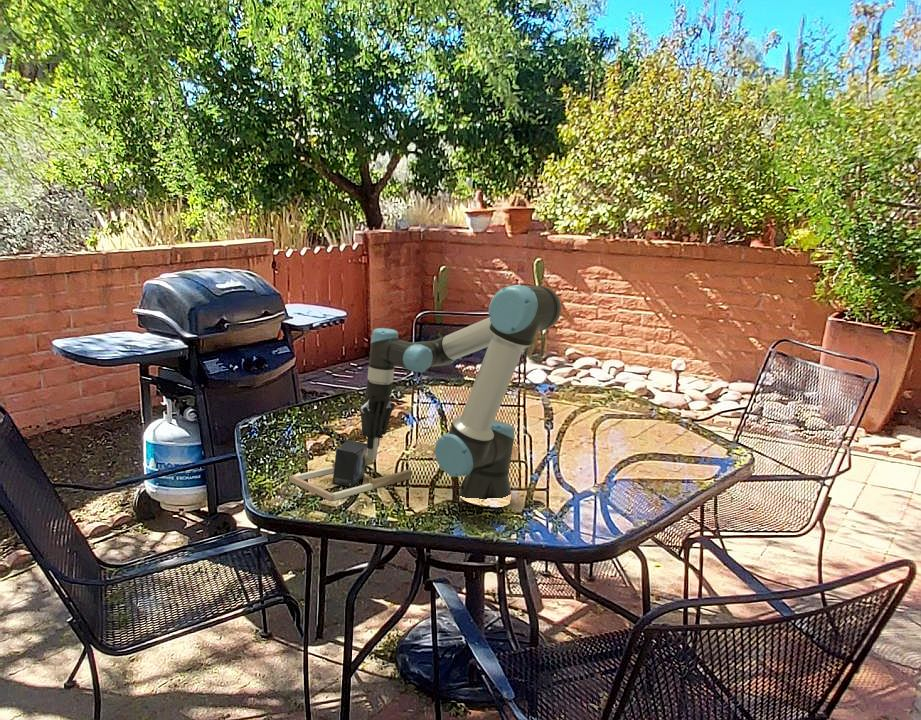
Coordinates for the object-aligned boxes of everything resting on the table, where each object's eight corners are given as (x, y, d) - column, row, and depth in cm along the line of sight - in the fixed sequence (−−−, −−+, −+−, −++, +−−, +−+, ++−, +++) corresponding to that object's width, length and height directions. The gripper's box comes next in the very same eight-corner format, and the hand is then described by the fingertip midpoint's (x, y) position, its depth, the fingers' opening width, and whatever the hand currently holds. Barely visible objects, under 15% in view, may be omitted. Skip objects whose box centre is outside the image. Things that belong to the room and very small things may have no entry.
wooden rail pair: (411, 478, 223) (411, 470, 223) (373, 489, 211) (374, 480, 210) (370, 462, 234) (370, 454, 233) (331, 471, 221) (332, 463, 221)
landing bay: (372, 489, 211) (373, 484, 210) (330, 500, 198) (331, 495, 198) (330, 471, 221) (331, 466, 221) (289, 481, 209) (289, 476, 208)
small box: (353, 488, 210) (356, 452, 208) (331, 483, 211) (334, 448, 209) (365, 476, 220) (369, 442, 218) (344, 472, 221) (348, 439, 219)
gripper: (386, 376, 224) (378, 451, 229) (354, 380, 214) (346, 458, 219) (404, 382, 220) (395, 458, 224) (372, 386, 210) (364, 466, 214)
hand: (371, 458), depth 221 cm, fingers closed
